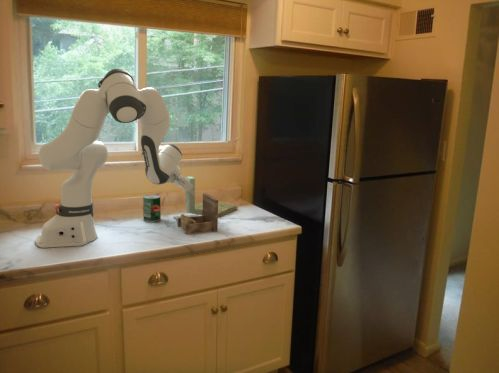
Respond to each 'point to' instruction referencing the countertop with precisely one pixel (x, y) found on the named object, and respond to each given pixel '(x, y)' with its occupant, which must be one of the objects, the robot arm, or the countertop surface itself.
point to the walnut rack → (204, 217)
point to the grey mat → (185, 215)
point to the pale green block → (190, 196)
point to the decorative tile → (222, 208)
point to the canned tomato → (151, 208)
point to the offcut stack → (186, 221)
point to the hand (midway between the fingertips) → (191, 192)
